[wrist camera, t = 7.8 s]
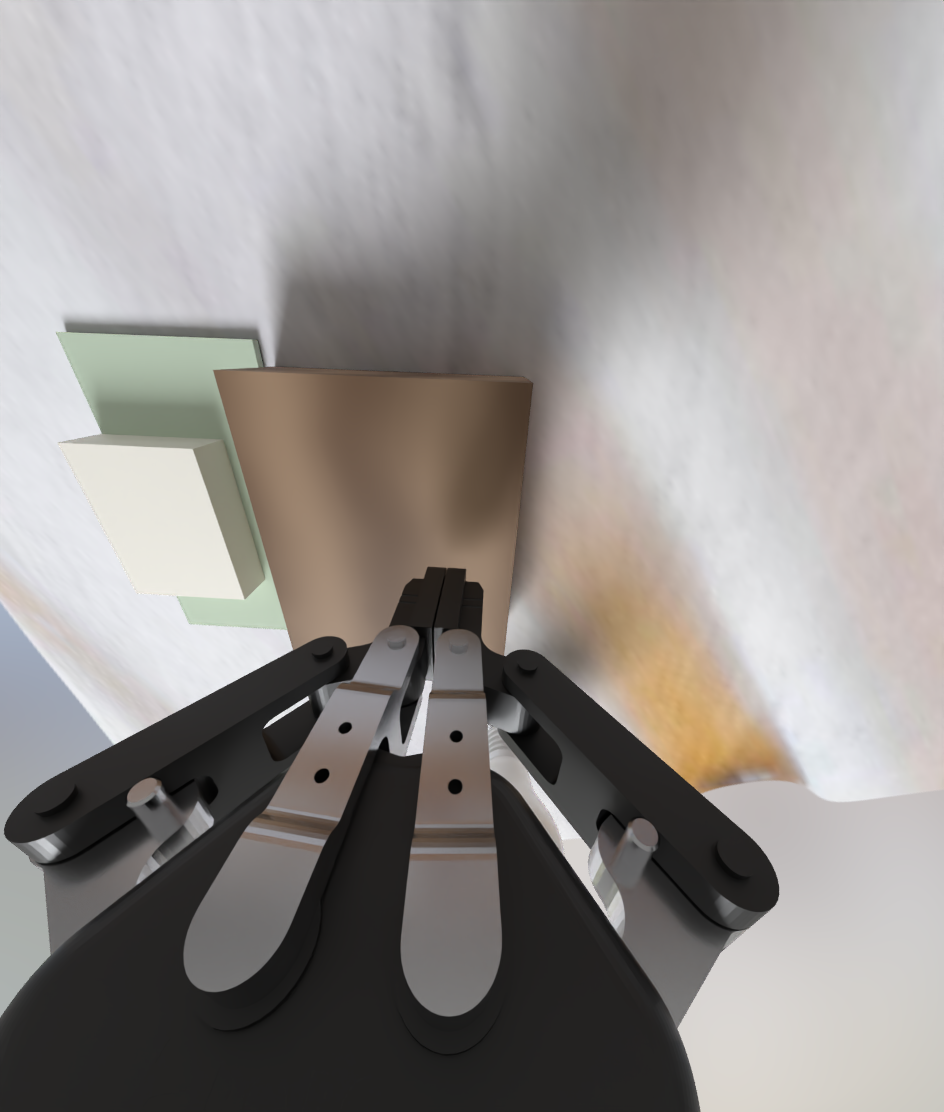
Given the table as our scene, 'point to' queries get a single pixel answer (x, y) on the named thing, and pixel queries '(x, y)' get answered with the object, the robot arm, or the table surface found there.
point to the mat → (175, 425)
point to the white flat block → (169, 513)
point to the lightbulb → (520, 782)
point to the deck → (379, 488)
